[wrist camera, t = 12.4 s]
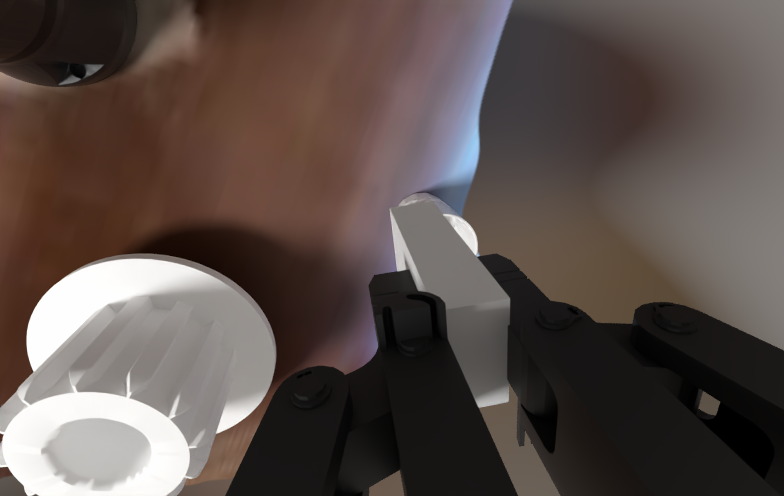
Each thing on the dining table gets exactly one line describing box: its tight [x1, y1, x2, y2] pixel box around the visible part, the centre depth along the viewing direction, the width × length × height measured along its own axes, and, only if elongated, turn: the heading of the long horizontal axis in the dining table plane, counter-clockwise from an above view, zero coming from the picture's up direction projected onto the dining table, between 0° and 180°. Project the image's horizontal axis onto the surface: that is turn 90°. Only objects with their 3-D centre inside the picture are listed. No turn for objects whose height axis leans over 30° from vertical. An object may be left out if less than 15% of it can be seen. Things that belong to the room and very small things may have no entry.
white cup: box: [398, 193, 478, 255], centre depth 44 cm, size 8×8×10 cm
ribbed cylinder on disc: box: [0, 254, 276, 496], centre depth 41 cm, size 25×25×19 cm
